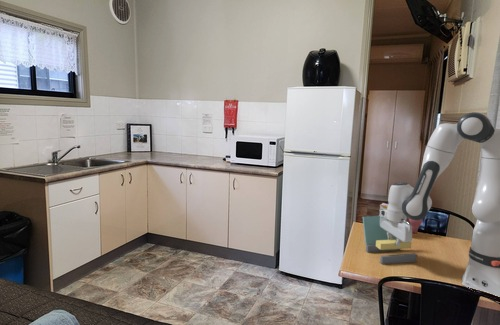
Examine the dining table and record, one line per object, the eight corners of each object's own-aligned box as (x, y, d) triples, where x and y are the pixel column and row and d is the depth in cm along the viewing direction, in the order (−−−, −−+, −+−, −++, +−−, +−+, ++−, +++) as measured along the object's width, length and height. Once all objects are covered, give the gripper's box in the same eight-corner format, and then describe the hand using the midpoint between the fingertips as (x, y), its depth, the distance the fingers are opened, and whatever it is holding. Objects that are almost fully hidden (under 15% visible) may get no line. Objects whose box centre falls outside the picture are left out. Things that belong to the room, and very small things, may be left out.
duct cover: (395, 215, 168) (393, 215, 169) (363, 216, 165) (362, 216, 166) (398, 242, 166) (397, 242, 167) (366, 244, 162) (365, 244, 163)
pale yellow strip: (410, 248, 155) (411, 242, 154) (380, 249, 152) (380, 243, 151) (405, 244, 158) (406, 239, 158) (375, 246, 156) (376, 240, 155)
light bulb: (422, 233, 189) (424, 213, 187) (418, 236, 184) (420, 216, 182) (410, 229, 194) (412, 210, 192) (405, 232, 189) (407, 213, 187)
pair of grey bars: (416, 261, 153) (417, 254, 152) (381, 264, 149) (382, 257, 149) (397, 249, 166) (398, 242, 166) (365, 251, 163) (366, 244, 162)
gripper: (417, 223, 143) (413, 252, 145) (389, 209, 163) (387, 234, 165) (404, 223, 142) (401, 253, 144) (378, 209, 162) (375, 235, 164)
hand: (393, 243), depth 155 cm, fingers closed on pale yellow strip, 4 cm apart
